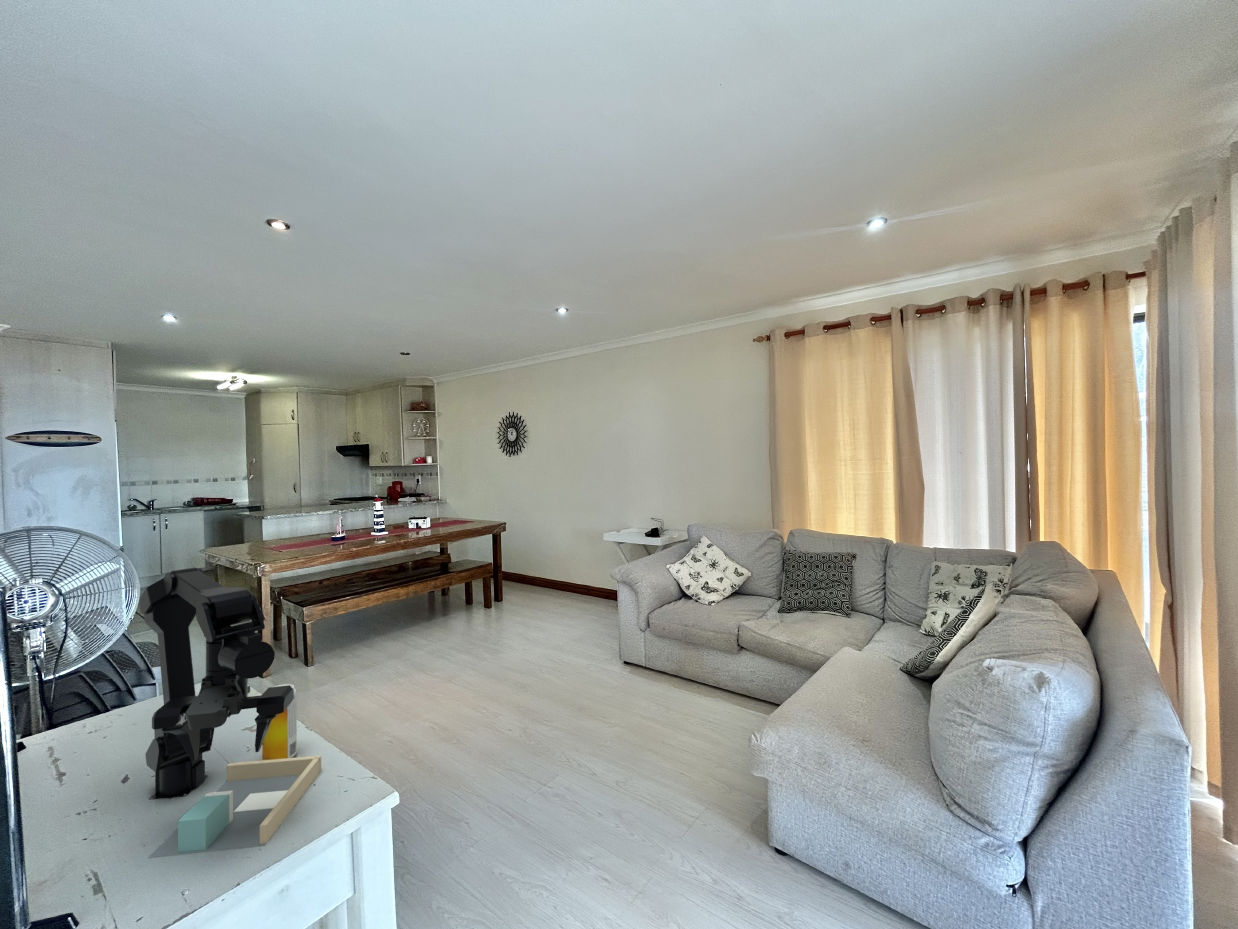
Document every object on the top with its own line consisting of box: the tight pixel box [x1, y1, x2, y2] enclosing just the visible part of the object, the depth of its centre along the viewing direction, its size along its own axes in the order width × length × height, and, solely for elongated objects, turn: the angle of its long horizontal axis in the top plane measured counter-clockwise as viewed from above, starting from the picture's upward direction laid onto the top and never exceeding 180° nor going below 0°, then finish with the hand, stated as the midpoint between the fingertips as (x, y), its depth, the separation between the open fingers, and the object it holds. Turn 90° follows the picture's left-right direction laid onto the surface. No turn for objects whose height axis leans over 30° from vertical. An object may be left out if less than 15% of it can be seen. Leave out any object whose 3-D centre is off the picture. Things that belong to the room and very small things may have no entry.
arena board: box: [147, 755, 322, 859], centre depth 90 cm, size 17×20×4 cm
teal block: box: [177, 791, 233, 852], centre depth 84 cm, size 4×7×5 cm, turn 8°
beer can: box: [261, 683, 298, 760], centre depth 106 cm, size 6×6×15 cm
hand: (226, 755), depth 86 cm, fingers open, 9 cm apart
